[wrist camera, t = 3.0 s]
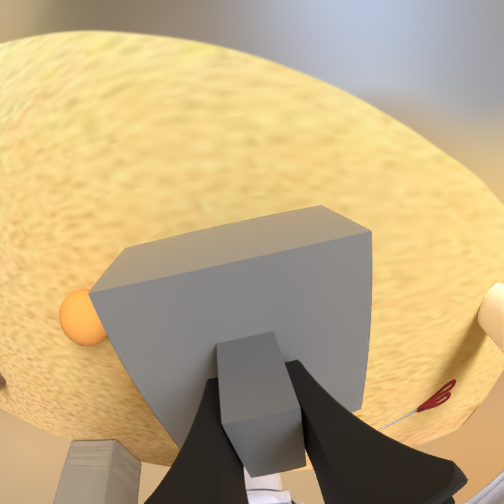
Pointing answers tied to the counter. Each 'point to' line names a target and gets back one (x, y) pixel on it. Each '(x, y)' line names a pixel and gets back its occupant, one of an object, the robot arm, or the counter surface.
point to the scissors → (431, 401)
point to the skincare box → (99, 474)
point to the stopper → (2, 381)
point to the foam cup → (493, 315)
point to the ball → (81, 319)
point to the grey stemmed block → (244, 324)
